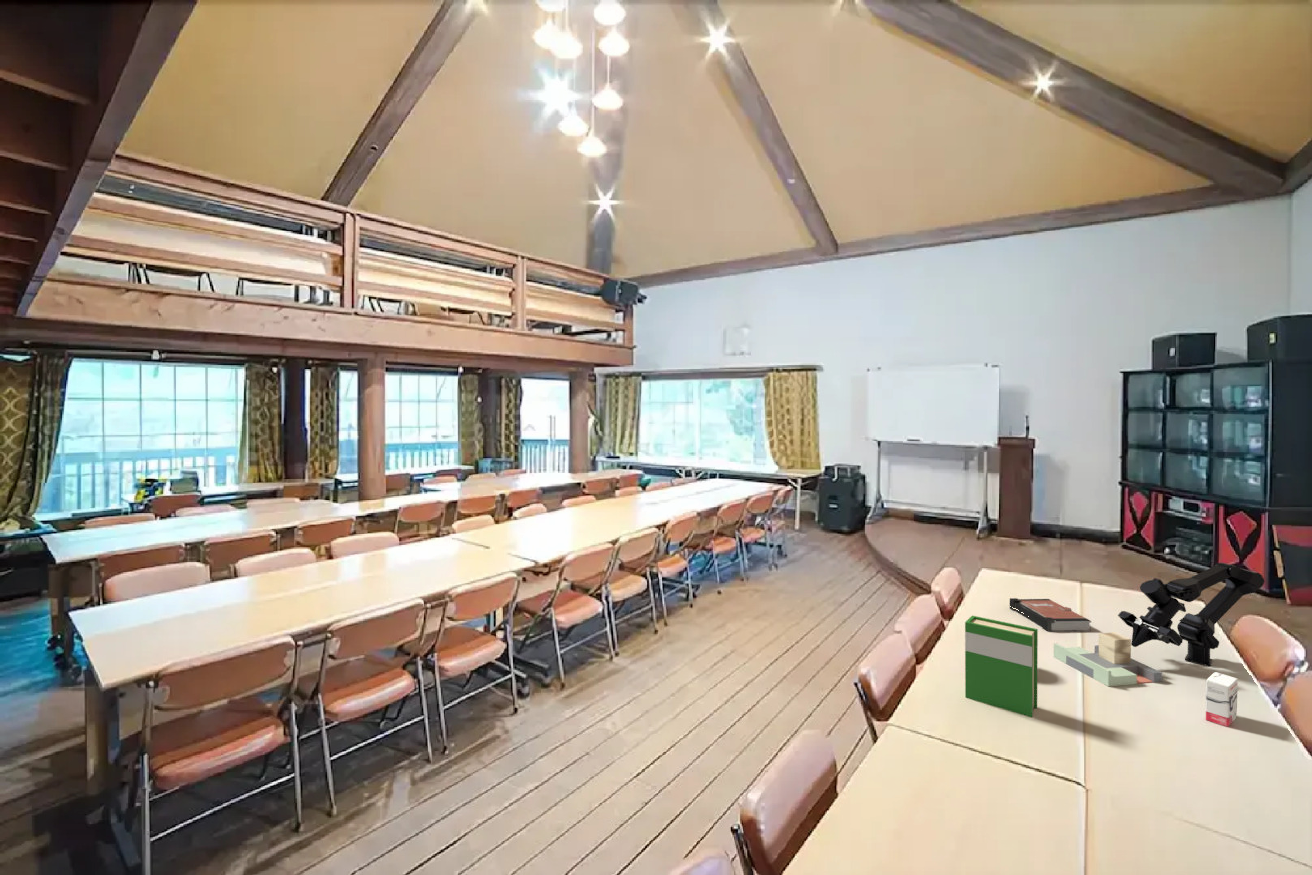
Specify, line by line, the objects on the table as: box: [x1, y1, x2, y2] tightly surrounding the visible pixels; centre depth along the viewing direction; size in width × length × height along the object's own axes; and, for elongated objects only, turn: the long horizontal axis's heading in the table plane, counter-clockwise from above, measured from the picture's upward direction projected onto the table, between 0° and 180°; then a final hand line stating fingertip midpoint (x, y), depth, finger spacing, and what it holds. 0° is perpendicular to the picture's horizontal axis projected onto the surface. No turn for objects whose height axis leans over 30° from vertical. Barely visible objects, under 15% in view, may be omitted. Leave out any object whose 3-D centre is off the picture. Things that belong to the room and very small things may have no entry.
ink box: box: [1205, 671, 1239, 728], centre depth 163 cm, size 8×5×12 cm, turn 123°
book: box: [1009, 597, 1092, 633], centre depth 240 cm, size 26×18×5 cm
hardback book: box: [964, 615, 1039, 718], centre depth 175 cm, size 18×7×24 cm, turn 46°
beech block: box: [1098, 631, 1132, 664], centre depth 195 cm, size 6×6×8 cm
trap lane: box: [1053, 642, 1163, 687], centre depth 195 cm, size 19×22×5 cm
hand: (1133, 645), depth 195 cm, fingers closed
